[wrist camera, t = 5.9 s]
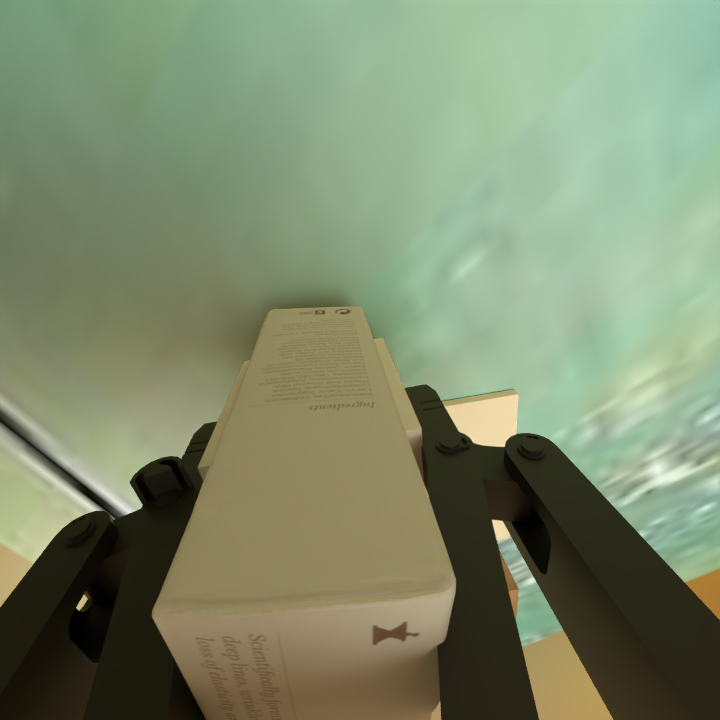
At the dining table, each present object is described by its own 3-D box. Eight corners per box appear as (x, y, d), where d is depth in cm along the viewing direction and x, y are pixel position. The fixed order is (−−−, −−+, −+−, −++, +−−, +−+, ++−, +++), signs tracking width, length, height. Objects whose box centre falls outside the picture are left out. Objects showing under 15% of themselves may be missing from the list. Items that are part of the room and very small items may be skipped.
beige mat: (354, 558, 27) (355, 566, 27) (324, 421, 22) (324, 426, 21) (505, 531, 27) (509, 538, 27) (513, 389, 22) (518, 394, 21)
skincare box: (264, 307, 15) (101, 615, 4) (368, 302, 15) (470, 580, 4) (282, 424, 18) (210, 795, 7) (369, 418, 18) (434, 765, 7)
